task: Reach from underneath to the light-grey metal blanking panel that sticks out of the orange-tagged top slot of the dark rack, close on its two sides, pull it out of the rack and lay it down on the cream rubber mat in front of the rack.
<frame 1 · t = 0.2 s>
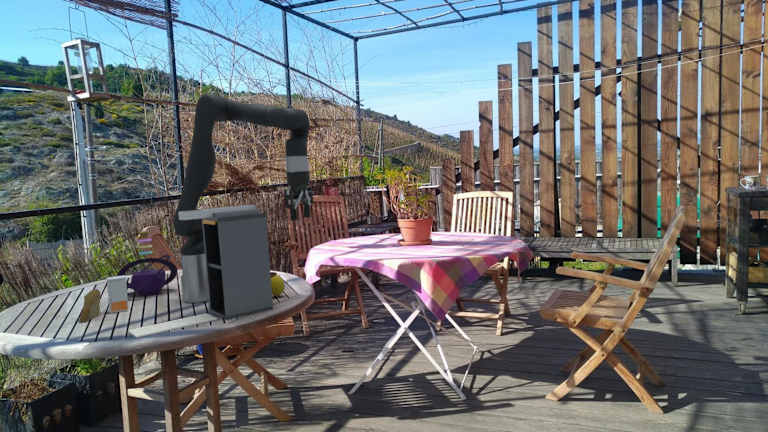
hand: (300, 219, 180), 29 cm above the table, tool pointing down, fingers open, 8 cm apart
rack: (241, 310, 180), on the table
mat: (173, 325, 166), on the table
rock: (88, 319, 180), on the table
skincare box: (119, 311, 188), on the table
panel: (219, 216, 174), point 32 cm above the table, touching rack
cup and saucer: (268, 290, 211), on the table
lemon: (277, 297, 197), on the table
purple handbag: (149, 294, 214), on the table
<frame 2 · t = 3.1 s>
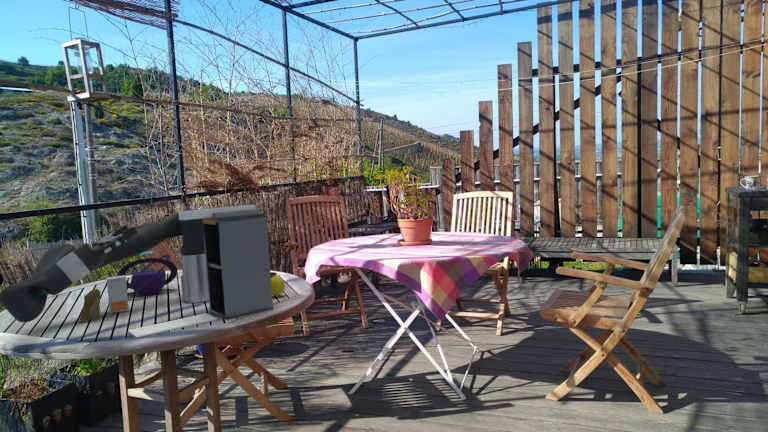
hand: (131, 228, 157), 31 cm above the table, tool pointing upward, fingers open, 8 cm apart
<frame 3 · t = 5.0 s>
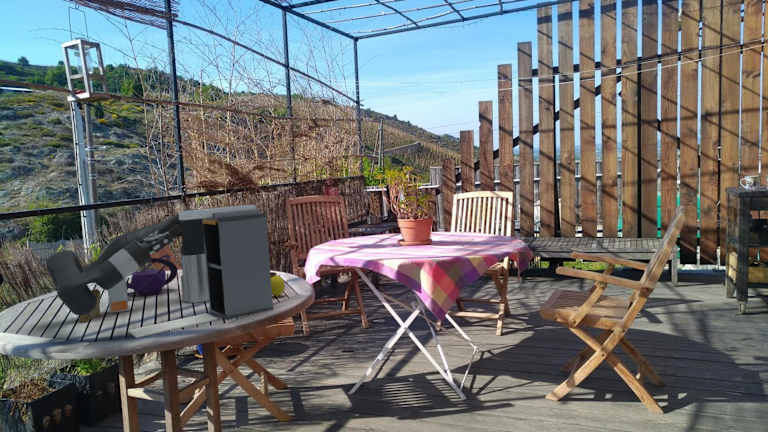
hand: (176, 226, 165), 30 cm above the table, tool pointing upward, fingers open, 8 cm apart
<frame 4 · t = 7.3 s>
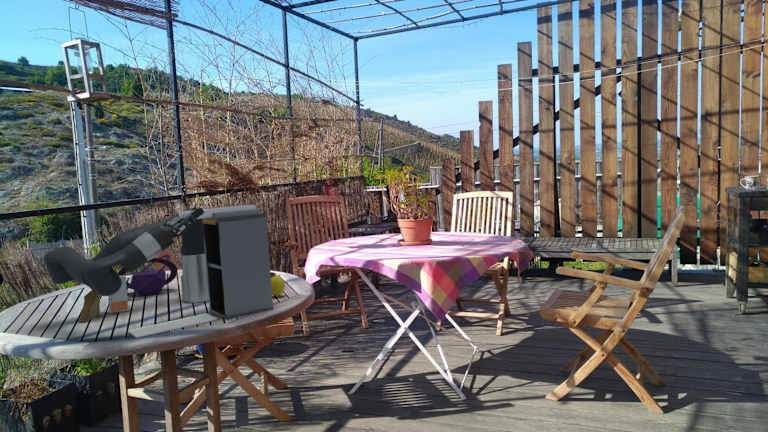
hand: (199, 209, 170), 35 cm above the table, tool pointing upward, fingers closed on panel, 4 cm apart
panel: (219, 216, 174), point 32 cm above the table, touching gripper, rack
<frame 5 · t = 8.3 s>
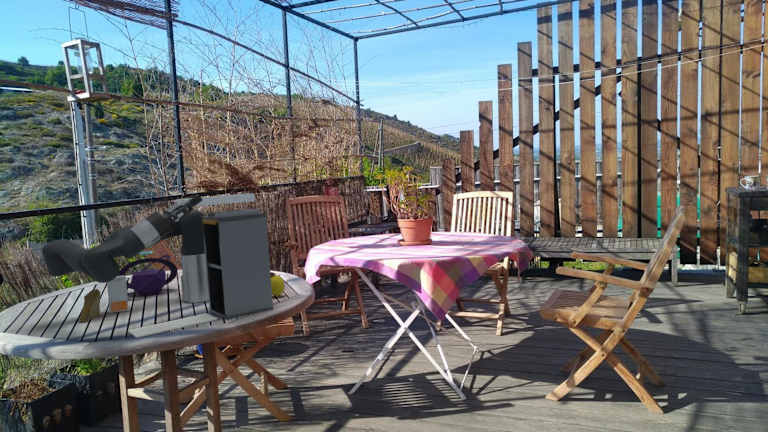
hand: (197, 197, 169), 39 cm above the table, tool pointing upward, fingers closed on panel, 4 cm apart
panel: (217, 204, 173), point 36 cm above the table, touching gripper
everything else where it was.
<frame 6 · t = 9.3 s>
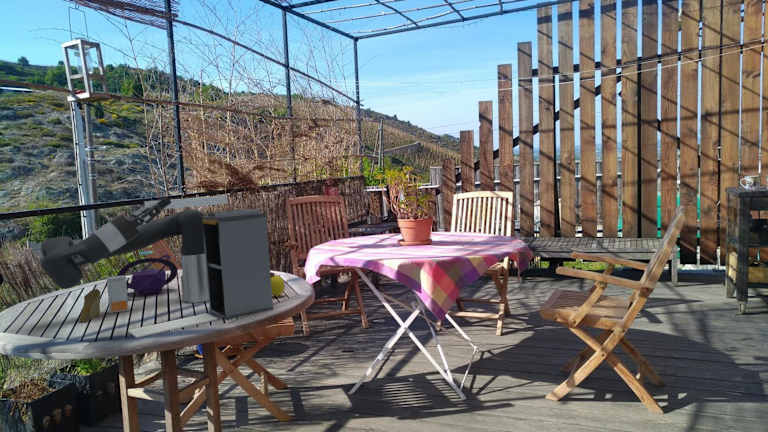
hand: (166, 199, 163), 39 cm above the table, tool pointing upward, fingers closed on panel, 4 cm apart
panel: (187, 206, 167), point 36 cm above the table, touching gripper
everything else where it was.
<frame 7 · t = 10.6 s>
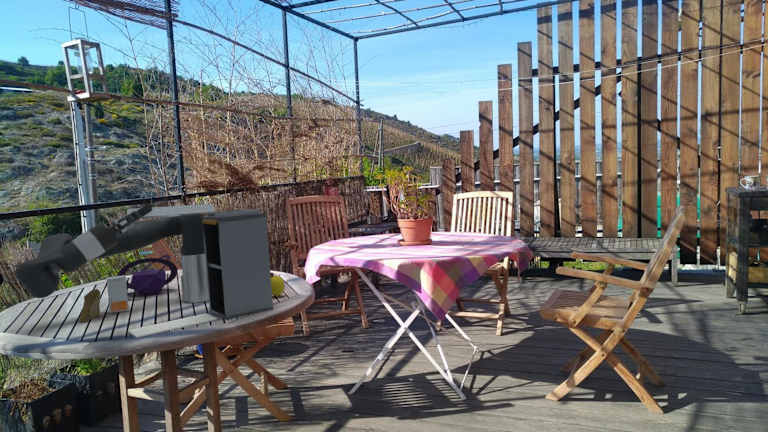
hand: (149, 208, 159), 36 cm above the table, tool pointing upward, fingers closed on panel, 4 cm apart
panel: (172, 215, 162), point 34 cm above the table, tilted 11°, touching gripper
when the fingers open (13 cm above the table, at t = 14.0 s): panel drops 15 cm and tips over, resting on mat.
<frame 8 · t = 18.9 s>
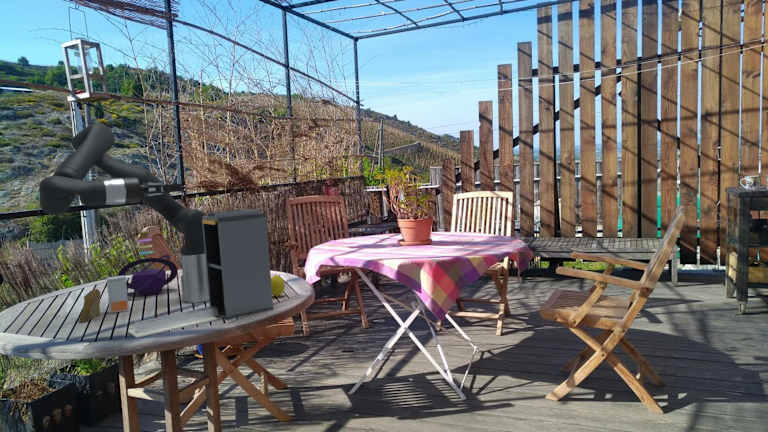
hand: (177, 187, 166), 42 cm above the table, tool horizontal, fingers open, 8 cm apart
panel: (177, 314, 167), point 3 cm above the table, tilted 180°, touching mat
cup and saucer: (261, 290, 210), on the table
at the end: panel inside the target area on the mat (1.6 cm from its centre), point 2.9 cm above the mat's base; panel point 2.9 cm above the table; the gripper is holding nothing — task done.
